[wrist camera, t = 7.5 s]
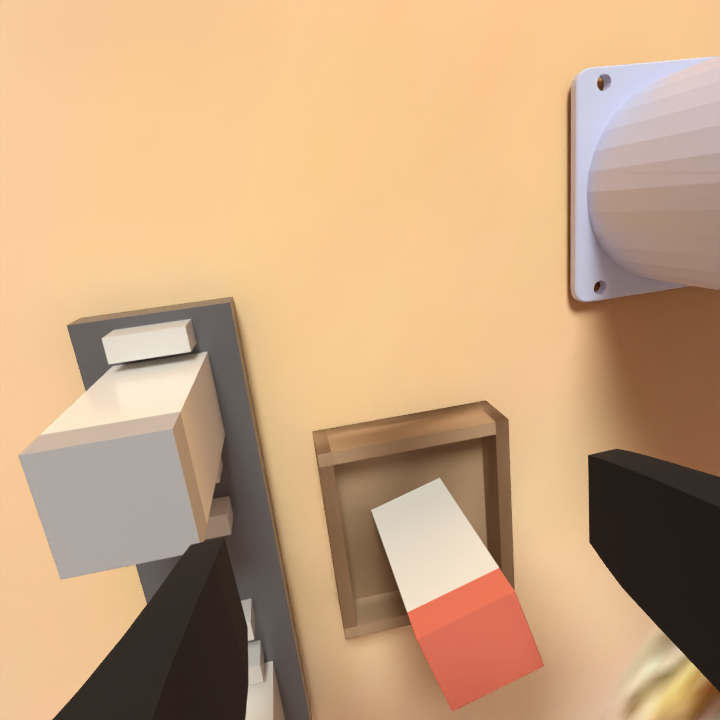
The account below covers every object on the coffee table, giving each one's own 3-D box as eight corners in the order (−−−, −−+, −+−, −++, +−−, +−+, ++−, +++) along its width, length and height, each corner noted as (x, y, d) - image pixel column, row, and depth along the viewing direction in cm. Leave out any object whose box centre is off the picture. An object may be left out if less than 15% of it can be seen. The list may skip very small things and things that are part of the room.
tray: (486, 400, 20) (508, 419, 18) (494, 567, 23) (514, 599, 21) (312, 431, 19) (317, 454, 18) (339, 602, 22) (345, 639, 20)
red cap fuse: (439, 477, 20) (514, 591, 14) (463, 535, 21) (544, 665, 15) (371, 510, 20) (416, 639, 14) (398, 566, 21) (452, 711, 15)
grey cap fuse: (207, 351, 17) (172, 428, 11) (225, 434, 18) (201, 550, 11) (112, 366, 16) (18, 455, 10) (135, 450, 17) (60, 579, 11)
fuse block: (232, 296, 18) (227, 308, 15) (311, 711, 23) (316, 765, 21) (80, 318, 17) (51, 333, 15) (198, 740, 22) (190, 799, 20)
